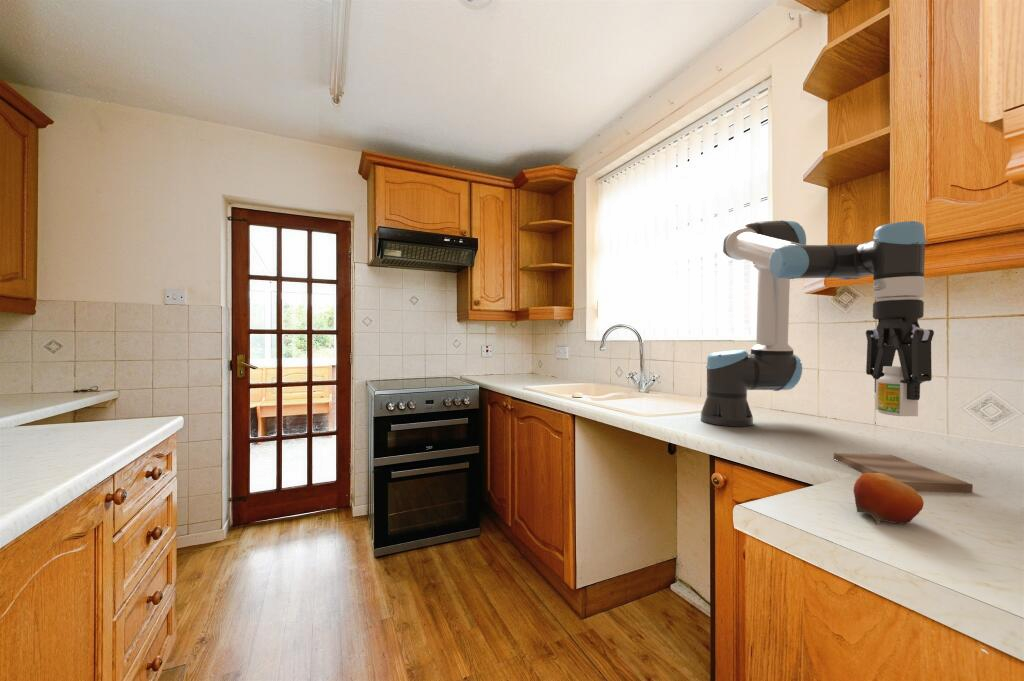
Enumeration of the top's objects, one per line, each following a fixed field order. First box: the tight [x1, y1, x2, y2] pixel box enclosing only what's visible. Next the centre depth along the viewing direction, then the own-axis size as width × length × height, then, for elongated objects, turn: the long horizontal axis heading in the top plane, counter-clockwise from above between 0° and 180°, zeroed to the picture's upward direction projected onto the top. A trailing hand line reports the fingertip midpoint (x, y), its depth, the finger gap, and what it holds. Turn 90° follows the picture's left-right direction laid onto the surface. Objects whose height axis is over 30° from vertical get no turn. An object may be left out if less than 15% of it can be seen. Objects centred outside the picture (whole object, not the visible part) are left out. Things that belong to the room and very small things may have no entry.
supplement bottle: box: [877, 365, 904, 417], centre depth 83 cm, size 5×5×10 cm
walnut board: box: [833, 452, 973, 493], centre depth 83 cm, size 18×12×2 cm, turn 174°
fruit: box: [853, 473, 925, 526], centre depth 63 cm, size 8×8×8 cm
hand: (895, 412), depth 83 cm, fingers closed on supplement bottle, 5 cm apart
